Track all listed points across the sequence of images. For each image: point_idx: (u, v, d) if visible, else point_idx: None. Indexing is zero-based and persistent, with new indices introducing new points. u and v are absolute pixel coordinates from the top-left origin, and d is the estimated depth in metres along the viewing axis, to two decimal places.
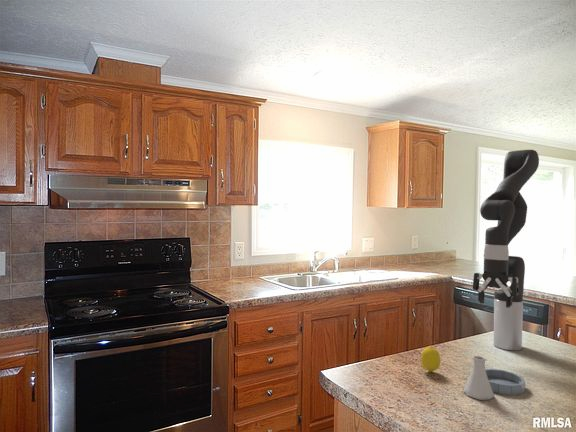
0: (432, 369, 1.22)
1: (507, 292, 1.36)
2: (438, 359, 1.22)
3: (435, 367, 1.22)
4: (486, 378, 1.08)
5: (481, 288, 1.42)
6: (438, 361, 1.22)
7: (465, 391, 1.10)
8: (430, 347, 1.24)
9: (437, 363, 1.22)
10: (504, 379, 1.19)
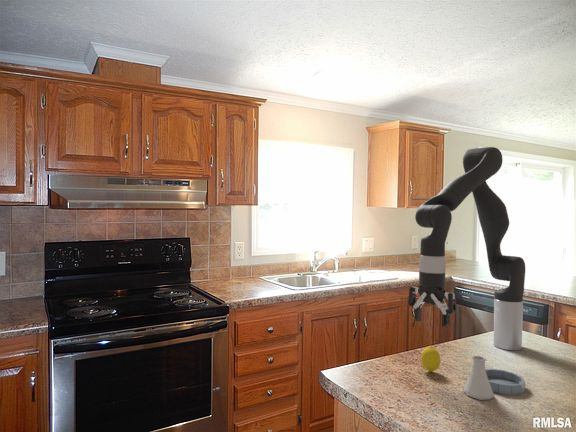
0: (432, 369, 1.22)
1: (443, 309, 1.20)
2: (438, 359, 1.22)
3: (435, 367, 1.22)
4: (486, 378, 1.08)
5: (417, 304, 1.26)
6: (438, 361, 1.22)
7: (465, 391, 1.10)
8: (430, 347, 1.24)
9: (437, 363, 1.22)
10: (504, 379, 1.19)
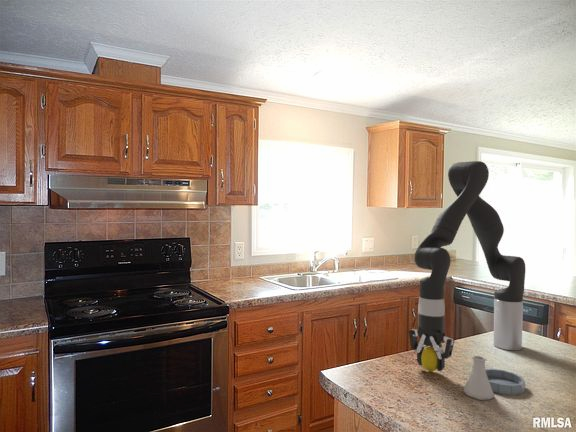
0: (432, 369, 1.22)
1: (439, 354, 1.21)
2: None
3: (435, 367, 1.22)
4: (486, 378, 1.08)
5: (419, 348, 1.26)
6: None
7: (465, 391, 1.10)
8: (430, 347, 1.24)
9: None
10: (504, 379, 1.19)
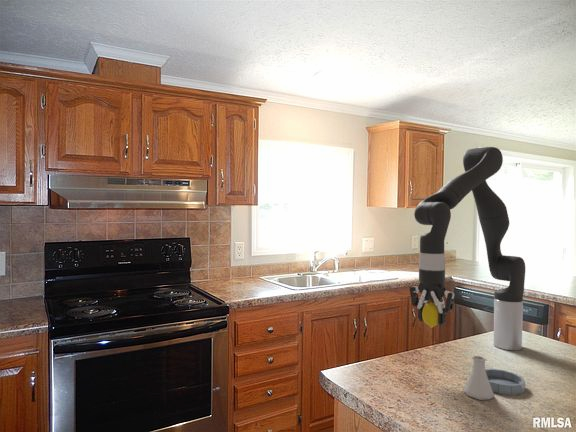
0: (433, 324, 1.22)
1: (440, 308, 1.21)
2: None
3: (436, 322, 1.22)
4: (486, 378, 1.08)
5: (420, 304, 1.26)
6: None
7: (465, 391, 1.10)
8: (431, 302, 1.24)
9: None
10: (504, 379, 1.19)
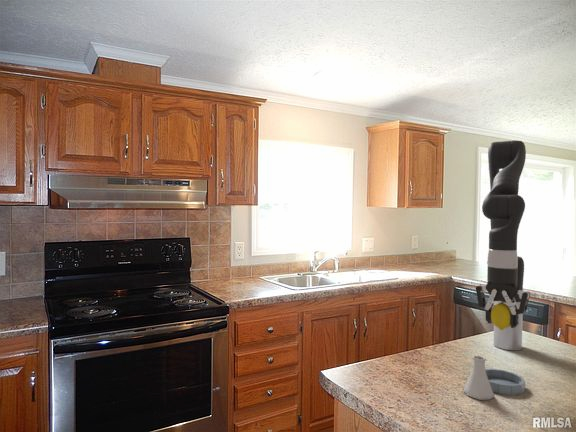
0: (504, 326, 1.13)
1: (513, 309, 1.12)
2: None
3: (508, 324, 1.13)
4: (486, 378, 1.08)
5: (488, 304, 1.17)
6: None
7: (465, 391, 1.10)
8: (501, 303, 1.15)
9: (510, 319, 1.13)
10: (504, 379, 1.19)
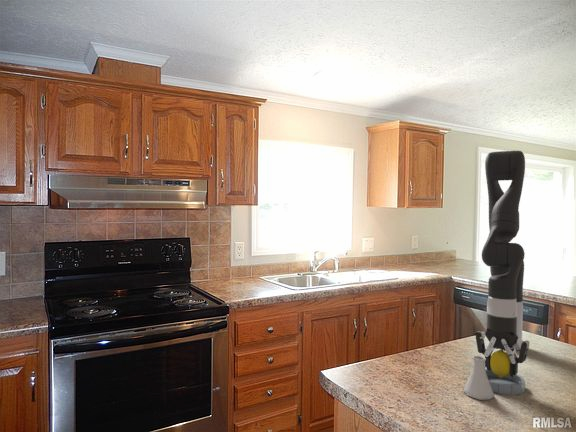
0: (504, 374, 1.13)
1: (512, 358, 1.12)
2: None
3: (507, 372, 1.13)
4: (486, 378, 1.08)
5: (487, 351, 1.17)
6: None
7: (465, 391, 1.10)
8: (501, 351, 1.15)
9: (509, 368, 1.13)
10: (504, 379, 1.19)
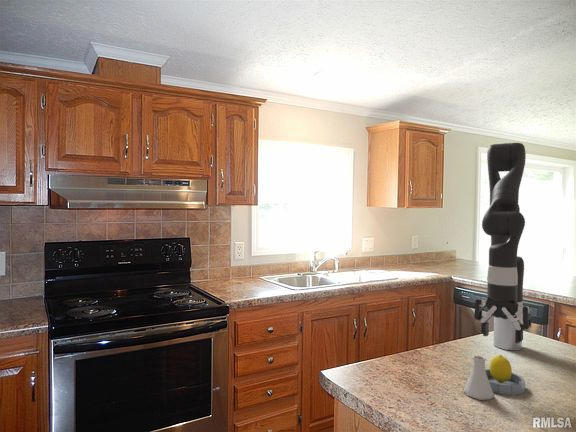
0: (504, 380, 1.13)
1: (517, 325, 1.11)
2: (510, 369, 1.14)
3: (507, 377, 1.13)
4: (486, 378, 1.08)
5: (485, 318, 1.17)
6: (510, 371, 1.13)
7: (465, 391, 1.10)
8: (500, 356, 1.15)
9: (509, 373, 1.13)
10: None
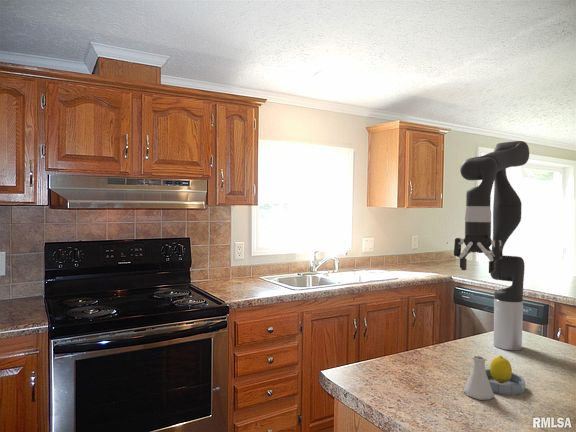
0: (504, 381, 1.13)
1: (490, 256, 1.26)
2: (510, 370, 1.13)
3: (508, 379, 1.13)
4: (486, 378, 1.08)
5: (462, 254, 1.32)
6: (510, 372, 1.13)
7: (465, 391, 1.10)
8: (500, 357, 1.15)
9: (510, 374, 1.13)
10: None
